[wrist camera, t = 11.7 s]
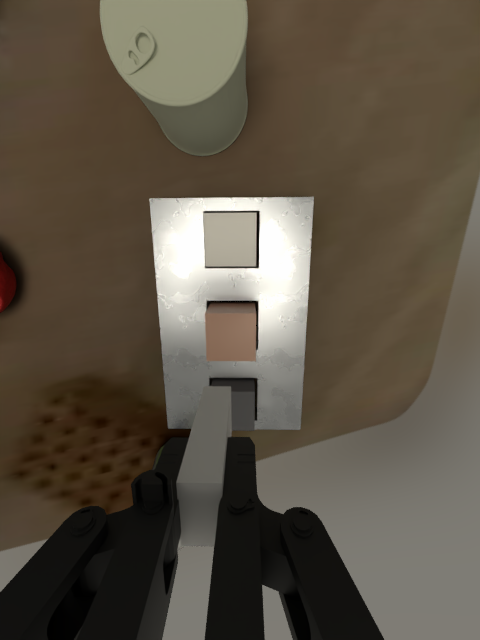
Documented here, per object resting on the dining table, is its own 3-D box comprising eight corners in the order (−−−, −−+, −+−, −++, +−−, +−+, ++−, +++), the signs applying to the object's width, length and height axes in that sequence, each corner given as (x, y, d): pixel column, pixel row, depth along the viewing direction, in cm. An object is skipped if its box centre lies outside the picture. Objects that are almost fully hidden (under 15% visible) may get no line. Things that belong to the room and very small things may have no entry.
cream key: (211, 262, 32) (205, 266, 28) (210, 217, 31) (203, 213, 26) (254, 262, 32) (256, 266, 27) (254, 217, 31) (256, 212, 26)
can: (136, 97, 29) (61, 1, 17) (206, 24, 27) (176, -138, 16) (197, 176, 31) (167, 136, 19) (266, 112, 29) (280, 26, 17)
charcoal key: (215, 405, 37) (211, 430, 32) (214, 371, 36) (210, 391, 31) (253, 405, 37) (254, 430, 32) (253, 371, 36) (254, 391, 31)
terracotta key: (212, 343, 33) (206, 361, 28) (211, 302, 32) (204, 313, 27) (254, 343, 33) (255, 361, 28) (254, 302, 32) (256, 313, 27)
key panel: (174, 414, 38) (168, 428, 35) (158, 202, 31) (149, 198, 28) (296, 415, 38) (300, 429, 35) (307, 201, 31) (313, 197, 28)
